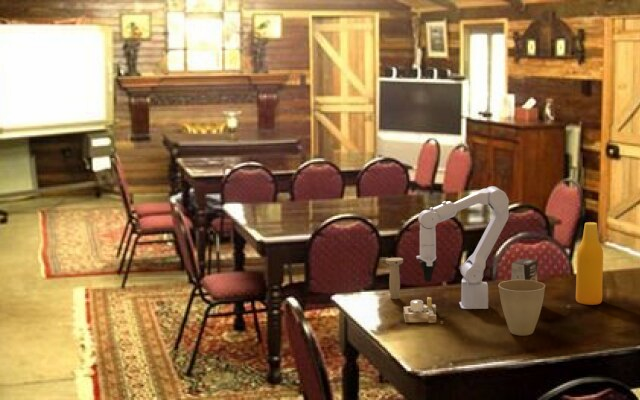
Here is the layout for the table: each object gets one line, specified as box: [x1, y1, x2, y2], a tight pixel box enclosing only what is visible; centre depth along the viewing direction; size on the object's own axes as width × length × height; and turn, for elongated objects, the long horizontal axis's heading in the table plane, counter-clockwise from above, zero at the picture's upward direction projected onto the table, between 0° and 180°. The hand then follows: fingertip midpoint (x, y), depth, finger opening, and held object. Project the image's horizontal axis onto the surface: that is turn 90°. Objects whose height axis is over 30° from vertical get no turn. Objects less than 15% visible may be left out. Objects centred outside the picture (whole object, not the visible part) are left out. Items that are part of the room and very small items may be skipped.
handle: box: [385, 257, 404, 300], centre depth 348 cm, size 5×6×15 cm
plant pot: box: [497, 279, 546, 336], centre depth 305 cm, size 15×15×16 cm
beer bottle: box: [575, 221, 604, 306], centre depth 337 cm, size 9×9×29 cm
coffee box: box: [510, 258, 538, 281], centre depth 336 cm, size 9×6×16 cm
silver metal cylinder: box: [410, 299, 424, 313], centre depth 323 cm, size 5×5×6 cm
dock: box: [403, 303, 437, 324], centre depth 325 cm, size 11×14×3 cm
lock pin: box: [426, 296, 435, 315], centre depth 325 cm, size 1×11×5 cm, turn 178°
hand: (427, 281), depth 334 cm, fingers closed
